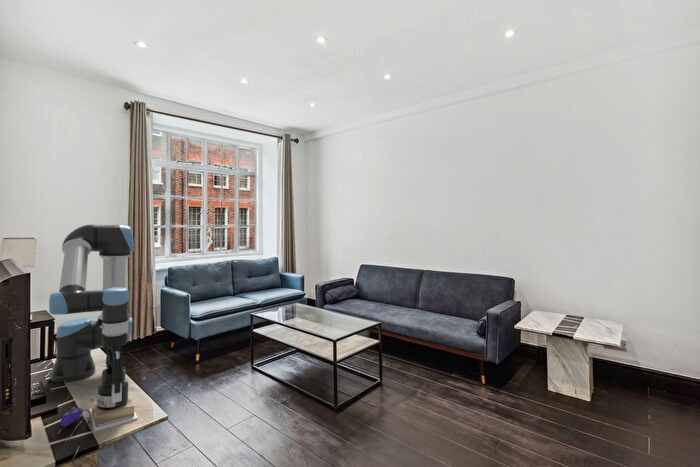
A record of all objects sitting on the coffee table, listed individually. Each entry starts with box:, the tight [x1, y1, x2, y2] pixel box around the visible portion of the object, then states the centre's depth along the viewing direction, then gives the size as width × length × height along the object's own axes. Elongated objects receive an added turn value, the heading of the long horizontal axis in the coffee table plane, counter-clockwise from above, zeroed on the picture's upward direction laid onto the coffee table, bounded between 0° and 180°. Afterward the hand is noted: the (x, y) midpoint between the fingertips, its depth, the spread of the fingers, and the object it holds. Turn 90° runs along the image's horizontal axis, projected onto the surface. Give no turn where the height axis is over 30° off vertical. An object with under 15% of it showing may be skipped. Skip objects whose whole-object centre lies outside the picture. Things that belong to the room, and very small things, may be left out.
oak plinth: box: [91, 393, 135, 426], centre depth 122 cm, size 11×11×3 cm
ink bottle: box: [96, 366, 130, 410], centre depth 122 cm, size 10×9×12 cm
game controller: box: [50, 406, 92, 432], centre depth 114 cm, size 10×8×10 cm
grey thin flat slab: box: [88, 407, 138, 432], centre depth 122 cm, size 16×12×1 cm
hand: (113, 393), depth 122 cm, fingers open, 13 cm apart
